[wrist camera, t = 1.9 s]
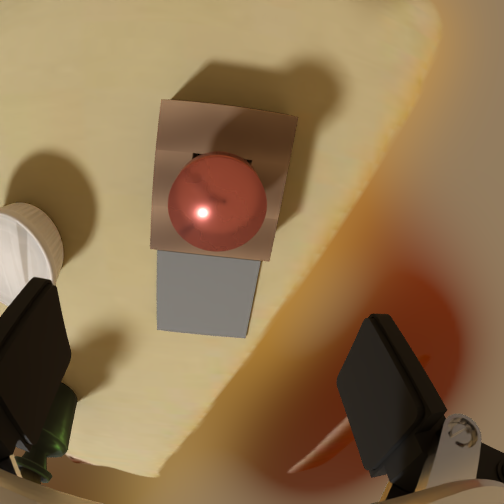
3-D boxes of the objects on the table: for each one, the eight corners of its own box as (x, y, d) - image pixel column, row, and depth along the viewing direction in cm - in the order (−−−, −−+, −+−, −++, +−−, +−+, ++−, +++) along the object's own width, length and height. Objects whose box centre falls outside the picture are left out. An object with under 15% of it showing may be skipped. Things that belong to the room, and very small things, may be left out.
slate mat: (158, 248, 30) (157, 250, 30) (260, 259, 31) (260, 261, 31) (157, 328, 34) (157, 329, 34) (245, 336, 36) (245, 338, 36)
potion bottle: (38, 395, 40) (6, 482, 24) (35, 367, 37) (-6, 464, 21) (81, 413, 42) (57, 505, 26) (83, 387, 39) (53, 492, 23)
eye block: (170, 99, 24) (161, 99, 20) (287, 114, 25) (298, 117, 22) (158, 229, 29) (150, 248, 26) (263, 241, 31) (269, 261, 27)
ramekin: (91, 268, 30) (72, 296, 26) (27, 296, 31) (8, 322, 27) (40, 174, 25) (12, 190, 21) (-19, 218, 26) (-45, 238, 22)
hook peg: (189, 135, 25) (172, 152, 17) (258, 144, 26) (275, 165, 18) (182, 201, 28) (165, 246, 20) (248, 209, 29) (258, 256, 21)
